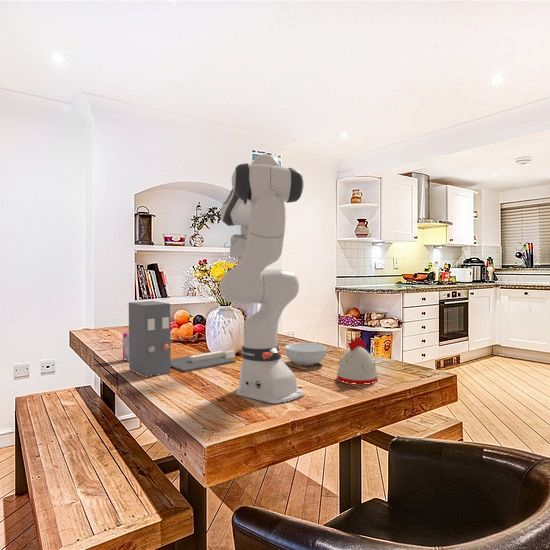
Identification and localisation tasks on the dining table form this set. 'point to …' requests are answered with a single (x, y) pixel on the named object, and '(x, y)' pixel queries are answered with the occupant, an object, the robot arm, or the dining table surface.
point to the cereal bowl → (306, 353)
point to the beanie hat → (357, 364)
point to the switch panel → (149, 337)
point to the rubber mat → (198, 363)
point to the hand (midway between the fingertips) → (251, 268)
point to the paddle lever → (212, 355)
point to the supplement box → (126, 346)
